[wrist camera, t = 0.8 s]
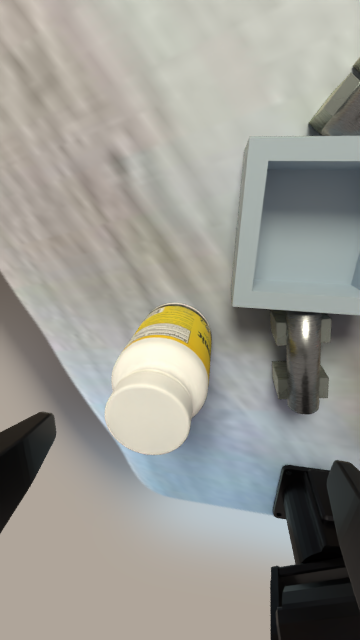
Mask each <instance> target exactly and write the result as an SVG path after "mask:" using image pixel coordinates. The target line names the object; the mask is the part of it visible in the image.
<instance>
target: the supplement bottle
mask: <svg viewBox="0 0 360 640" xmlns="http://www.w3.org/2000/svg"><path fill="white" fill-rule="evenodd" d="M210 357H211V330H210V327H209V324H208V322H207V320H206V319H205V317H204V316H203V315H202V314H201V313H200V312H199V311H198V310H196V309H195V308H193V307H191V306H188V305H186V304H182V303H168V304H164V305H161V306H159V307H157V308H155V309H154V310H153V311H152V312H151V313H150V314H149V315H148V316H147V317H146V319H145V320H144V321H143V323H142V324H141V326H140V327H139V328H138V330H137V331H136V333H135V334H134V336H133V337H132V339H131V340H130V342H129V343H128V344H127V346H126V347H125V349H124V350H123V351H122V353H121V354H120V356H119V358H118V359H117V361H116V363H115V365H114V368H113V372H112V389H113V393H112V394H111V396H110V398H109V399H108V401H107V404H106V407H105V421H106V424H107V427H108V429H109V431H110V432H111V434H112V435H113V436H114V437H115V439H116V440H117V441H119V442H120V443H121V444H122V445H124V446H125V447H127V448H128V449H130V450H133V451H135V452H138V453H142V454H147V455H161V454H165V453H169V452H171V451H173V450H175V449H177V448H178V447H180V446H181V445H182V444H183V442H184V441H185V440H186V438H187V436H188V434H189V430H190V425H191V419H192V418H193V417H194V416H195V415H196V414H197V413H198V412H199V411H200V409H201V408H202V406H203V404H204V402H205V400H206V397H207V392H208V386H209V373H210Z"/></svg>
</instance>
